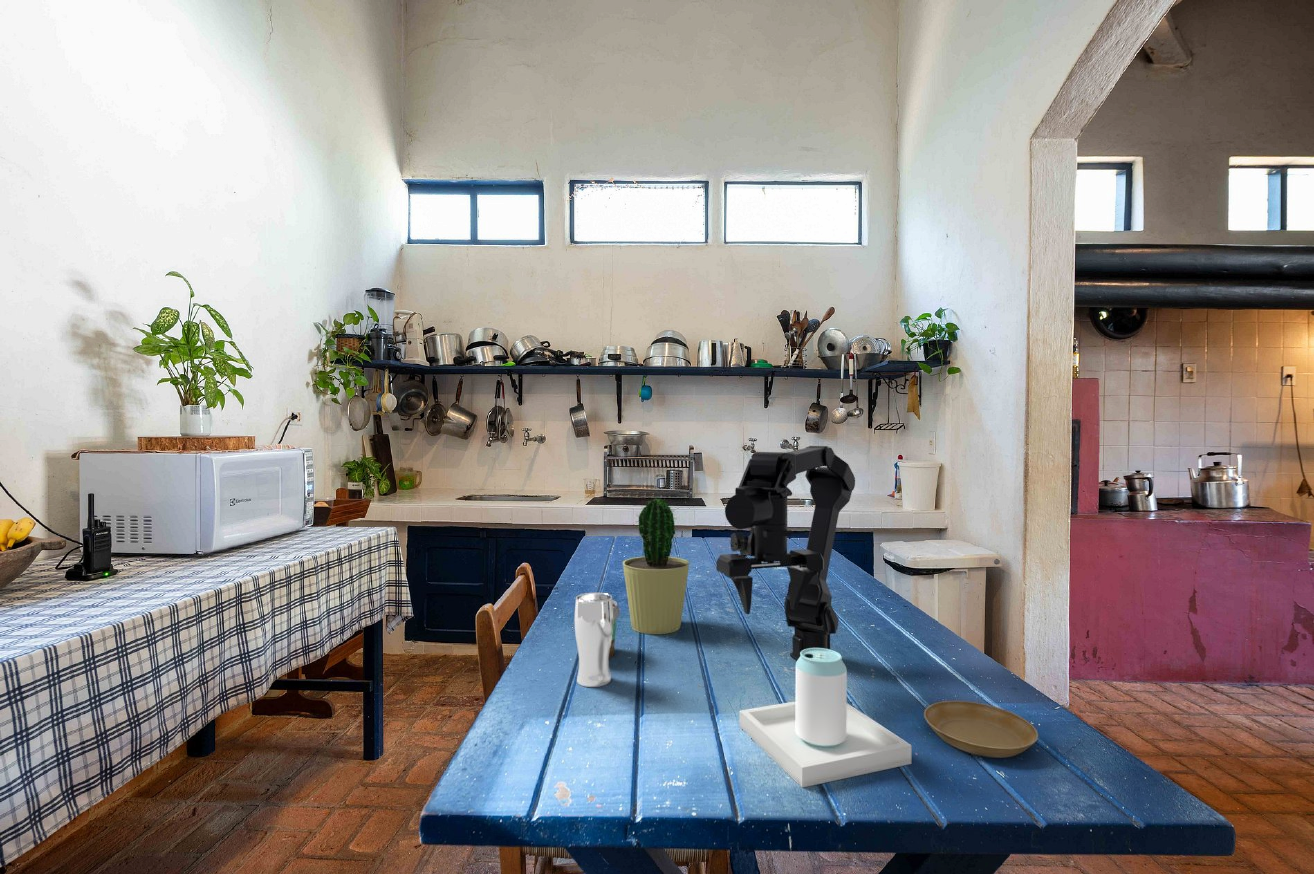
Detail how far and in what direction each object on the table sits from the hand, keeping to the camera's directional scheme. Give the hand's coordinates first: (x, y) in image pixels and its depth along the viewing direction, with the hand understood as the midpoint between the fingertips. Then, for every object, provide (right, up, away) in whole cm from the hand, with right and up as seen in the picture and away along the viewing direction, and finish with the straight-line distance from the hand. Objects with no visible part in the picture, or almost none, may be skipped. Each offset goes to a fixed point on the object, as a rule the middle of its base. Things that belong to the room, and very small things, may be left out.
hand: (770, 611), depth 109 cm
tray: (+3, -13, -21) cm, 25 cm away
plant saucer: (+27, -14, -19) cm, 36 cm away
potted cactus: (-20, -13, +33) cm, 41 cm away
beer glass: (-31, -13, +2) cm, 34 cm away
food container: (-31, -13, +15) cm, 36 cm away
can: (+3, -12, -21) cm, 25 cm away
